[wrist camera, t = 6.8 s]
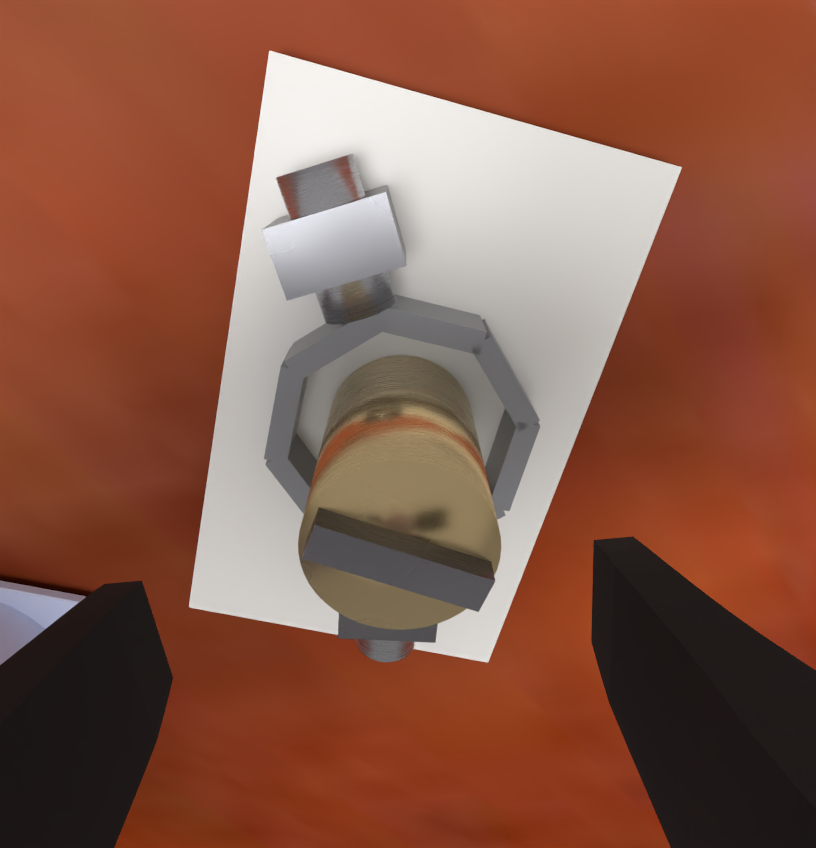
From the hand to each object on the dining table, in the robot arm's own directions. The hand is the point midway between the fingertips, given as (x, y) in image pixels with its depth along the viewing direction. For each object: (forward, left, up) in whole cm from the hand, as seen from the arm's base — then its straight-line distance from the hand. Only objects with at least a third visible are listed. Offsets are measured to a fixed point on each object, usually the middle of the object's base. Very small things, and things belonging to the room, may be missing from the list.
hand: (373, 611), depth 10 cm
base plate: (0, -1, -9) cm, 9 cm away
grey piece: (+4, +2, -9) cm, 11 cm away
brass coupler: (0, -1, -8) cm, 8 cm away
